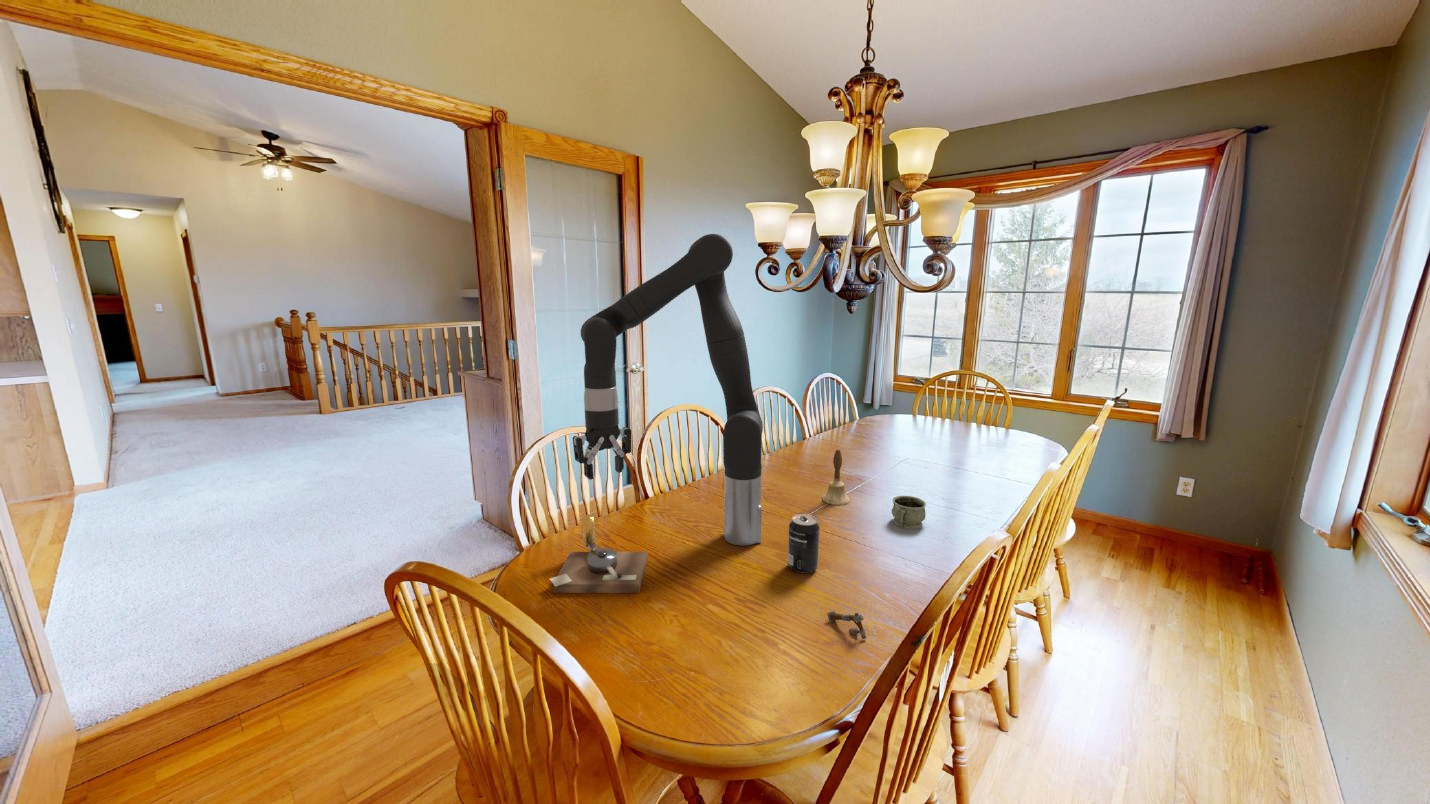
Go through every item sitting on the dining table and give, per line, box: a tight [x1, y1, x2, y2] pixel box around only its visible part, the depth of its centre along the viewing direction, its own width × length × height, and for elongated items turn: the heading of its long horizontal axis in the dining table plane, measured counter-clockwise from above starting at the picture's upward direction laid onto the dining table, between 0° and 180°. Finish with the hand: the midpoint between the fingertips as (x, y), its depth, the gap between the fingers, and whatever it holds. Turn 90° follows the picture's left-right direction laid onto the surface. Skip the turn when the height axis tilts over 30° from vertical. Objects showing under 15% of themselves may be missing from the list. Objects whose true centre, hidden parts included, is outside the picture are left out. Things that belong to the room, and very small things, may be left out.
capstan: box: [582, 514, 618, 577], centre depth 116 cm, size 18×6×8 cm, turn 30°
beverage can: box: [787, 513, 821, 574], centre depth 118 cm, size 7×7×12 cm
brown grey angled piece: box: [826, 609, 867, 640], centre depth 97 cm, size 2×8×4 cm, turn 37°
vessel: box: [891, 495, 927, 529], centre depth 143 cm, size 12×9×6 cm
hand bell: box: [821, 449, 851, 506], centre depth 157 cm, size 8×8×16 cm
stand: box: [549, 551, 648, 594], centre depth 116 cm, size 19×15×3 cm
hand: (604, 475), depth 123 cm, fingers open, 7 cm apart
